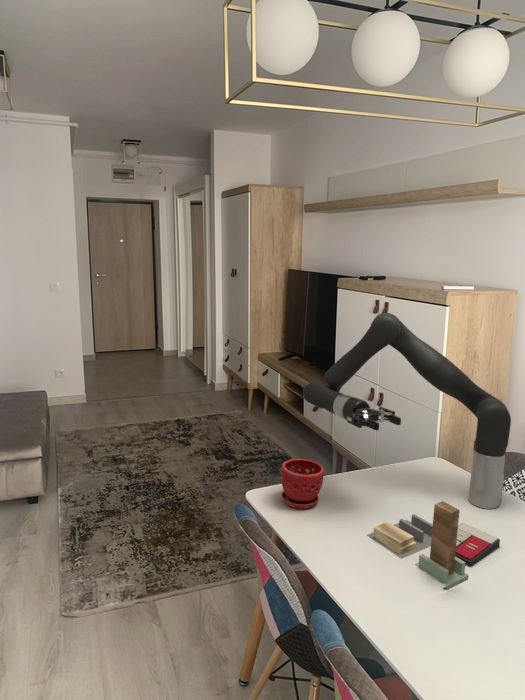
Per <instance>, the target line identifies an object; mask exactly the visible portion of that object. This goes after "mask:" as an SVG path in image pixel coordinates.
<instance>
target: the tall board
mask: <svg viewBox="0 0 525 700" xmlns="http://www.w3.org/2000/svg"><path fill="white" fill-rule="evenodd" d="M433 507H434V509H433V518H432V519H433V520H432V524H433V528H432V539H431V546H430V552H429V553H430V554H429V558H430V559H431V560H433V561H435V562H436V563H438V564H439V565H441V566H443V567H444V568H446V569H447V570H449V573H448V575H451V574H453V573H454V562H455V552H456V542H457V532H458V526H459V522H460V521H459V519H460V509H459V508H457V507H455V506H453V505H452V504H449V503H447V502H445V501H444V500H442V501H439V502H437V503H434V506H433Z"/></svg>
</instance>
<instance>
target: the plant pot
mask: <svg viewBox="0 0 525 700" xmlns="http://www.w3.org/2000/svg"><path fill="white" fill-rule="evenodd" d="M292 467H294V470H293V471H291V470H290V469H291V468H292ZM299 469H300V470H299ZM307 470H308V471H309V472H307ZM280 474H281V475H280V477H281V486H282V490H283V491H282V493H281V499H282V501H283V502H284V503H285V504H286V505H288V506H290V507H293V508H296V509H308V508H311V507H314V506H315V505H316V504H317V503H318V502H319V499H320V498H319V494H320V492H321V490H322V489H321V488H322V486H323V483H324V482H323V481H324V476H325V475H324V474H325V468H324V467H323V465H321V464H320V463H318V462H316V461H313V460H311V459H307V458H306V459H303V458H293V459H288V460H286V461H284V462H283V463H282V466H281V473H280Z"/></svg>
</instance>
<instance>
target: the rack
mask: <svg viewBox="0 0 525 700" xmlns="http://www.w3.org/2000/svg"><path fill="white" fill-rule="evenodd" d="M393 525H394V526H396V527H398V528H399V529H401V530H403V531H405V532H407V533H409V534H410V535H412V536H414V542H416V548H414V549H412V550H410V551H407V552H405V553H402V554H398V553H397V552H395V551H394V550H392V549H391V548H389V547H388V546H386V545H385V544H383V543H382V542H380V541H379V540H377V539H376V538H374V537H373V532H371V533H368V534H366V536H367V537H368V538H370V539H371V540H373V541H374V542H376V543H377V544H378V545H381V547H383V548H385V549H386V550H388V551H389V552H390V553H392V554H393V555H394V556H397V557H398V558H400V559H405V558H407V557H409V556H412V555H413V554H416V553H418V552H420V551H421V552H422V551H423V550H426V549H428V548H429V547H430V548H431V539H432V528H433V523H431V522H429V521H427V520H425V519H424V518H422V517H420V516H419V515H417V514H415V513H413V514H411V520H408V519H406V520H405V519H404V518H400V519H399V520H398V522H397V523H395V524H393Z"/></svg>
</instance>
